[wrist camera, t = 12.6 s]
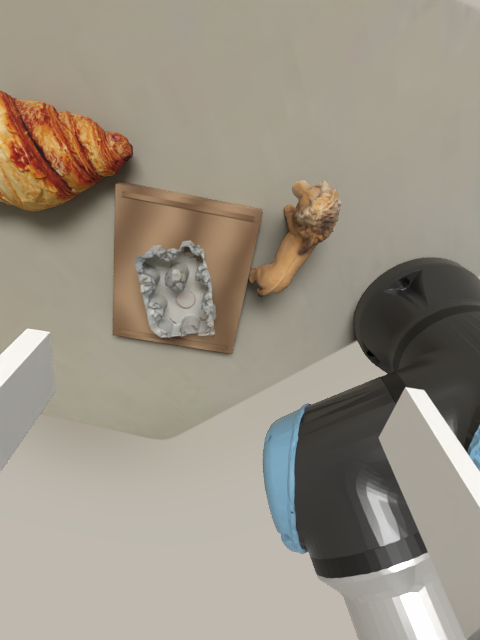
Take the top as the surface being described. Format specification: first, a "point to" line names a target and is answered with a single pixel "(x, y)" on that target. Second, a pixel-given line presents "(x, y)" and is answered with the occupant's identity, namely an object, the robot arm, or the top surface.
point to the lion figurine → (299, 235)
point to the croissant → (52, 154)
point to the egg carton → (176, 291)
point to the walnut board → (170, 231)
